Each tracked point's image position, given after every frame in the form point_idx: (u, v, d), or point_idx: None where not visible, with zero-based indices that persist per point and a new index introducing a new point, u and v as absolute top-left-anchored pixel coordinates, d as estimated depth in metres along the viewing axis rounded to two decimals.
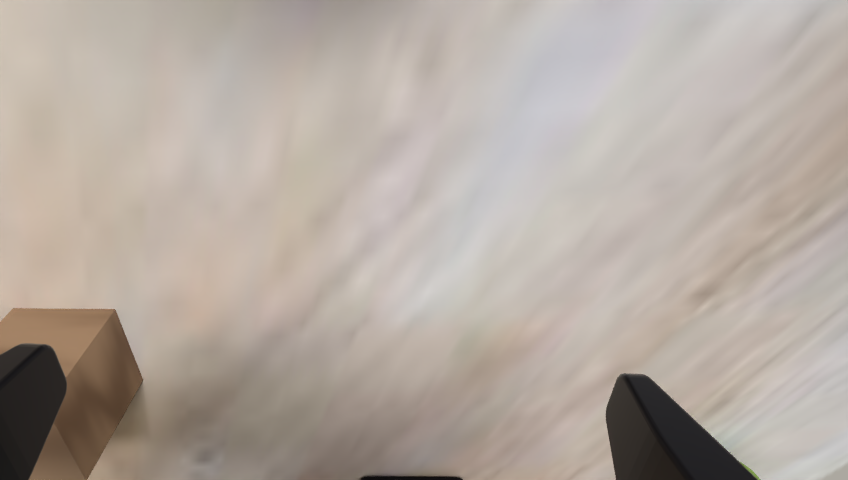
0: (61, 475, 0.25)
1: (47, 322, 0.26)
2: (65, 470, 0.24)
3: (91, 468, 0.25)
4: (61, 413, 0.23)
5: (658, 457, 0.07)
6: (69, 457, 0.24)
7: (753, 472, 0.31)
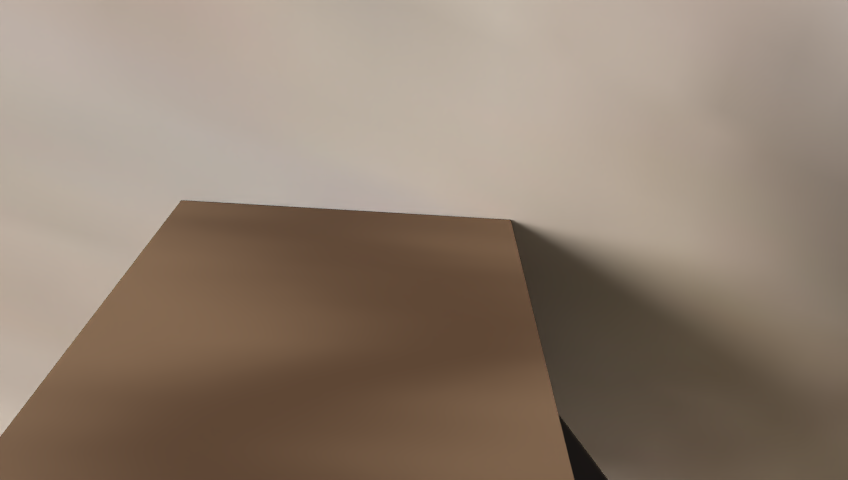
0: None
1: None
2: None
3: None
4: None
5: None
6: None
7: None
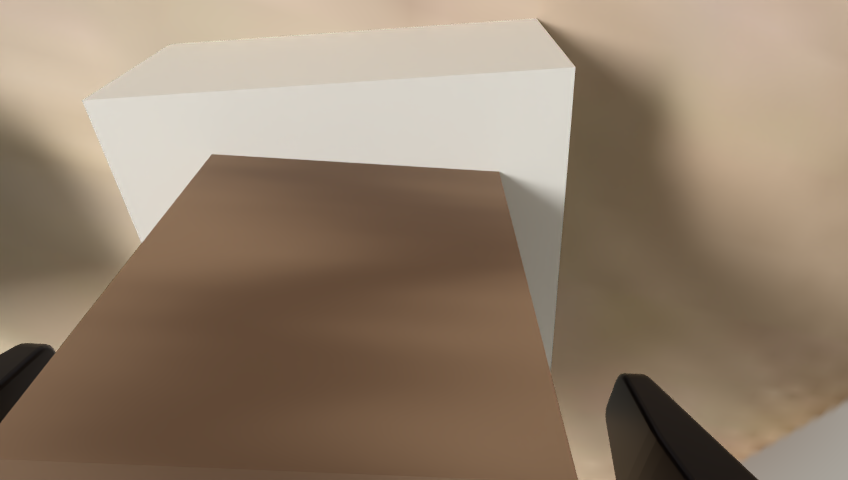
0: None
1: None
2: None
3: (551, 429, 0.05)
4: (131, 413, 0.05)
5: (658, 457, 0.07)
6: None
7: None
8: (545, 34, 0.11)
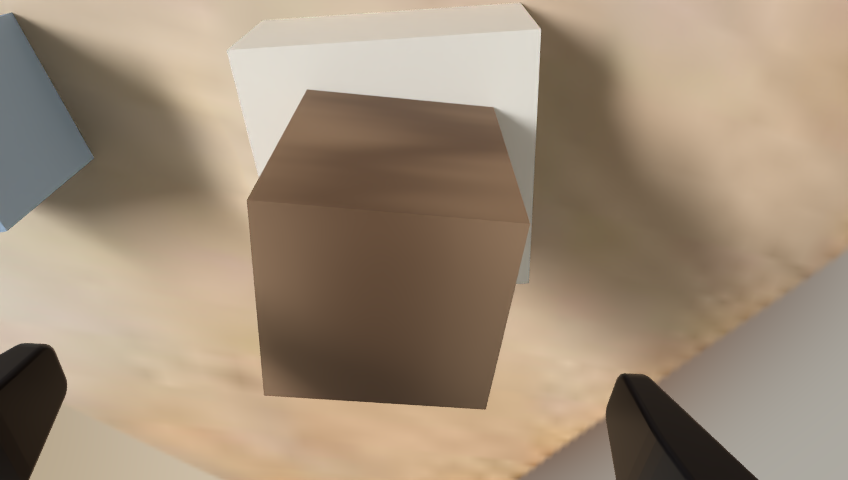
0: (500, 267, 0.10)
1: None
2: (482, 249, 0.10)
3: (518, 208, 0.10)
4: (312, 191, 0.10)
5: (658, 457, 0.07)
6: (433, 224, 0.10)
7: None
8: (525, 11, 0.16)
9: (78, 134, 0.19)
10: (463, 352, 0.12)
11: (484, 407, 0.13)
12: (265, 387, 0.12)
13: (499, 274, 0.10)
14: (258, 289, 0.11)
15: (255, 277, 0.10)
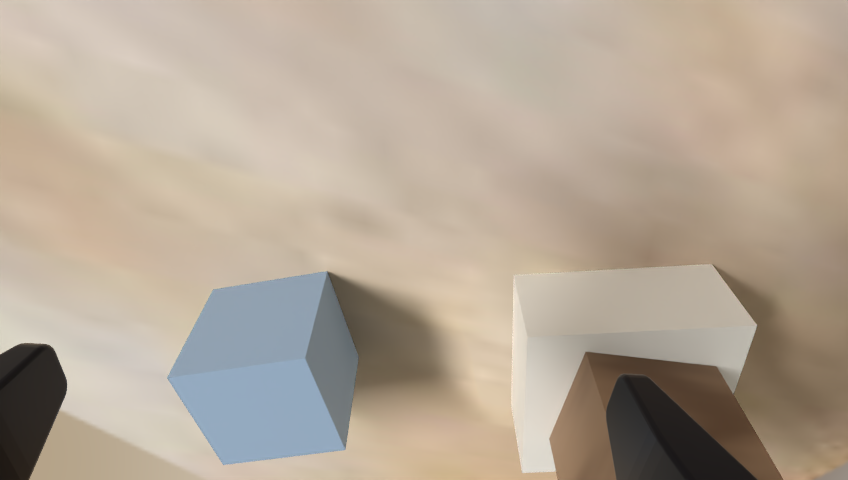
0: None
1: (570, 424, 0.21)
2: None
3: None
4: None
5: (658, 457, 0.07)
6: None
7: None
8: (726, 286, 0.21)
9: (352, 344, 0.25)
10: None
11: None
12: None
13: None
14: None
15: None
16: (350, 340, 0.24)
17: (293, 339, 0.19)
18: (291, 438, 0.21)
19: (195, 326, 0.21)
